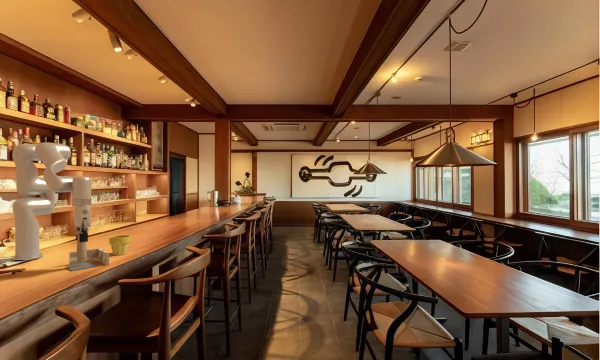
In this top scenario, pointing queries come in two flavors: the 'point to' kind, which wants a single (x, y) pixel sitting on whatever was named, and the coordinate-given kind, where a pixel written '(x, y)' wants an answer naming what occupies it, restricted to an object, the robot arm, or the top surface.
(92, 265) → the coaster
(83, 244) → the handle
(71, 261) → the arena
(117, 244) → the plant pot
